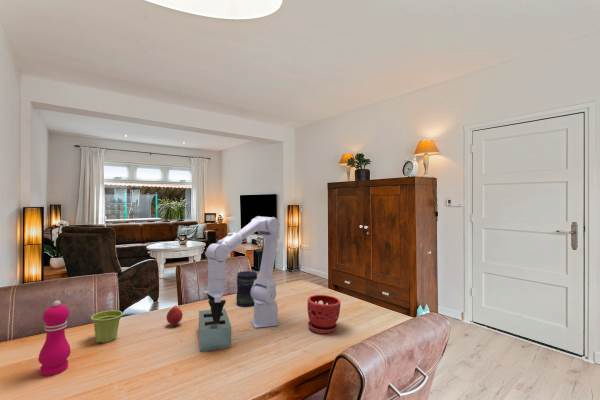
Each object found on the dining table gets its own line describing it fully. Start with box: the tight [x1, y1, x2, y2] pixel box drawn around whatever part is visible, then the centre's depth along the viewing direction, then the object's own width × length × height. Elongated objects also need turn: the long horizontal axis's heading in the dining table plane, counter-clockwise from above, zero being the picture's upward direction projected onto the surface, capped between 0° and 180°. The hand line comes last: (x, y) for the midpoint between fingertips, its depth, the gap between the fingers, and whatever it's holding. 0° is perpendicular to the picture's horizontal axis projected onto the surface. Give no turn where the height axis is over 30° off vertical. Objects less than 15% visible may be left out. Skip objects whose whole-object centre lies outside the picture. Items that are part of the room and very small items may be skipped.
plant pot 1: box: [90, 309, 124, 344], centre depth 107 cm, size 9×9×9 cm
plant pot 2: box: [307, 294, 341, 334], centre depth 121 cm, size 13×13×12 cm
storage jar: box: [235, 270, 258, 308], centre depth 149 cm, size 10×10×15 cm
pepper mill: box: [38, 299, 72, 377], centre depth 88 cm, size 7×7×20 cm
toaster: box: [197, 308, 232, 353], centre depth 111 cm, size 10×19×7 cm, turn 20°
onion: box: [166, 304, 183, 327], centre depth 121 cm, size 6×6×8 cm
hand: (215, 316), depth 107 cm, fingers open, 7 cm apart
